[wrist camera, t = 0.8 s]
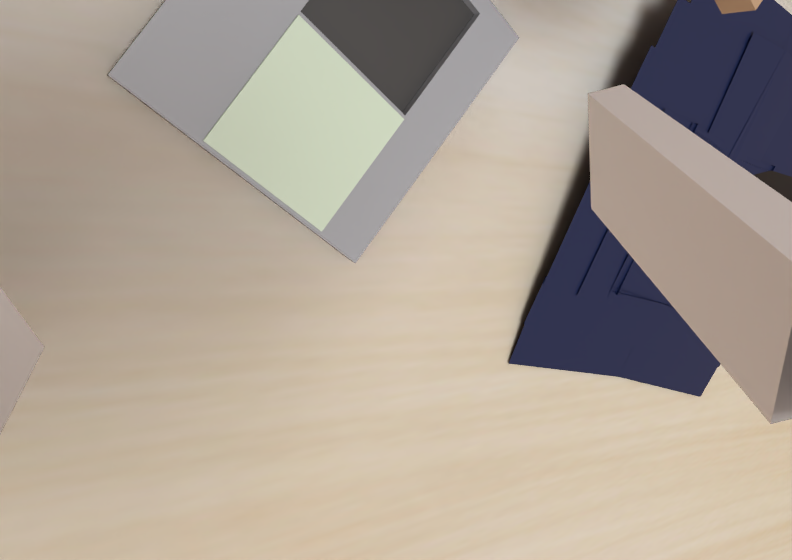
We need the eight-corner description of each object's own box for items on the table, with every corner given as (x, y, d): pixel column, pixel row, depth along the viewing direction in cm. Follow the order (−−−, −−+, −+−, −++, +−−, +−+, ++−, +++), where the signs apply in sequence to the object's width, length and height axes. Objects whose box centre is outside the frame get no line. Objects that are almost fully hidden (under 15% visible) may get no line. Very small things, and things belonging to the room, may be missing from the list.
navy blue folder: (840, 75, 53) (886, 80, 50) (678, 381, 60) (710, 402, 57) (663, -61, 40) (709, -66, 37) (485, 345, 47) (512, 368, 44)
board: (107, 75, 29) (108, 74, 28) (321, -201, 30) (328, -210, 29) (350, 260, 37) (356, 264, 37) (511, 38, 38) (521, 37, 38)
